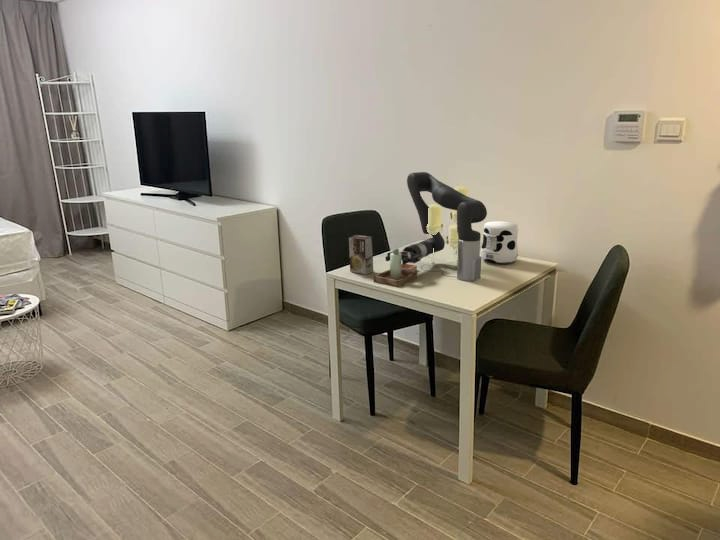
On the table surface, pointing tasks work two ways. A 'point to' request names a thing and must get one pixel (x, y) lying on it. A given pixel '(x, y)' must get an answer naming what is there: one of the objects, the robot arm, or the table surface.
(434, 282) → the table surface
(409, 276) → the tray
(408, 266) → the holder
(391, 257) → the bottle
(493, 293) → the table surface
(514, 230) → the cow print rice cooker
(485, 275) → the table surface
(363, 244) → the coffee box
